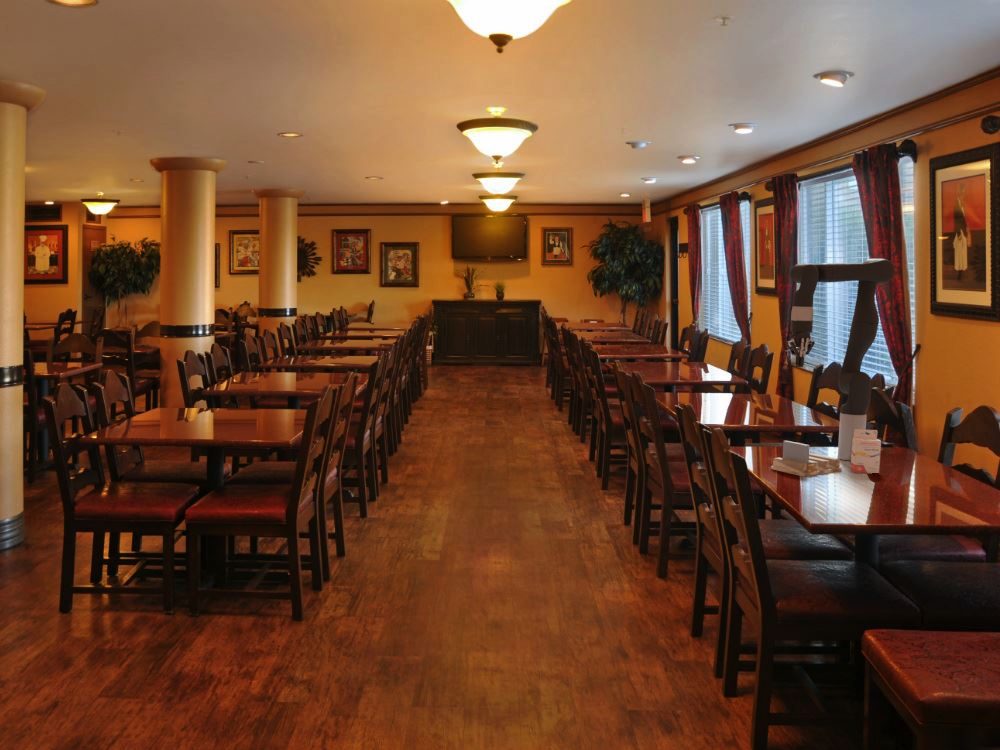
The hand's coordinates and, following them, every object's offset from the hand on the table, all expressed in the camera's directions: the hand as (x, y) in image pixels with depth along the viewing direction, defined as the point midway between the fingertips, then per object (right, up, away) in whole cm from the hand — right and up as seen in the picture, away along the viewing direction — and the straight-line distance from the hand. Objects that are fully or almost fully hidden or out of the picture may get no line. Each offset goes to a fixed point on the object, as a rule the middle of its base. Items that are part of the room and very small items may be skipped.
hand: (799, 366), depth 335 cm
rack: (-1, -36, -11) cm, 38 cm away
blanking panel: (-6, -36, -14) cm, 39 cm away
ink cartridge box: (+19, -37, -12) cm, 43 cm away
